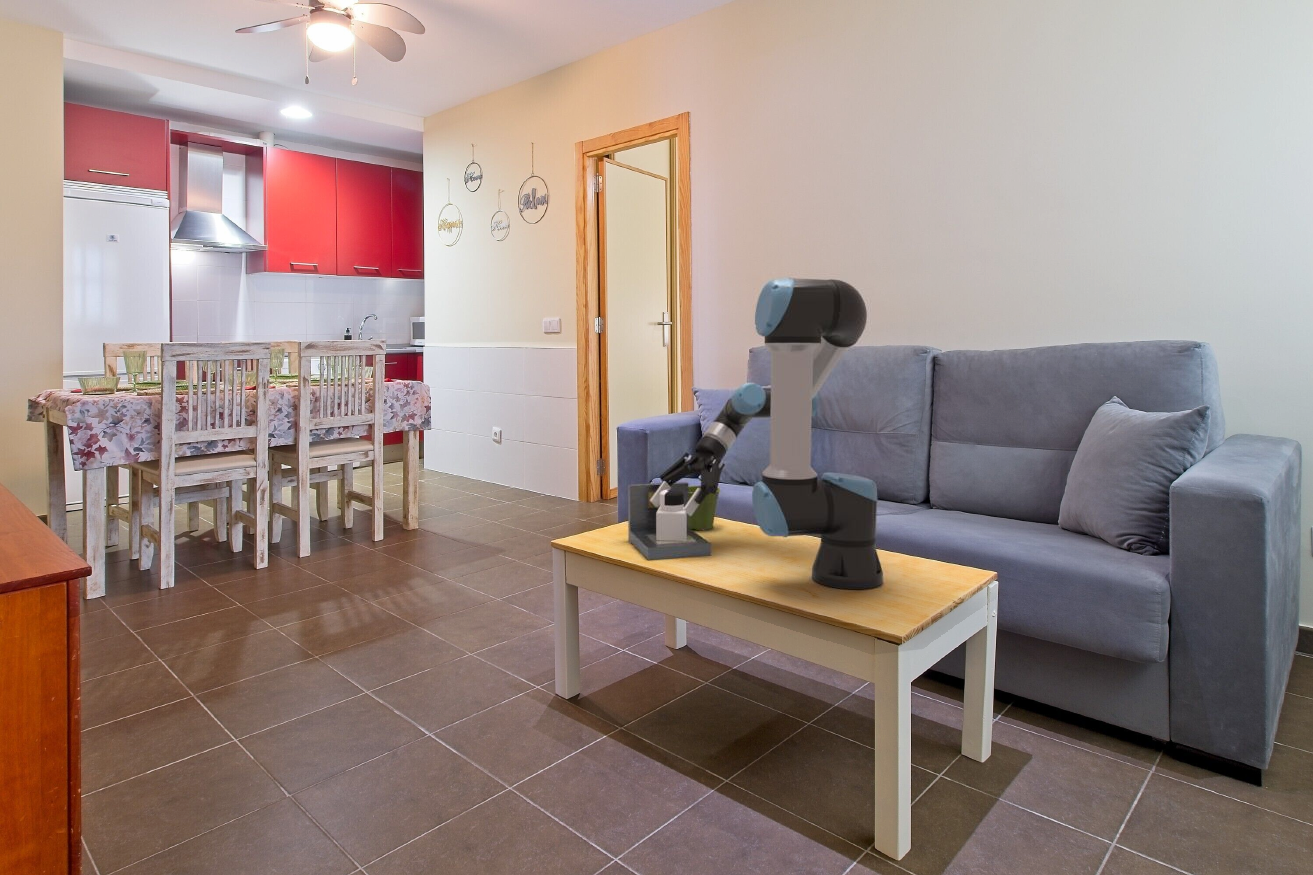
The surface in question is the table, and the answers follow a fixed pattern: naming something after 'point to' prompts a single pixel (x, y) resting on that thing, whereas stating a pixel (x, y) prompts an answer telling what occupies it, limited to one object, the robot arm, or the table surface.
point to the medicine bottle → (671, 516)
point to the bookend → (645, 526)
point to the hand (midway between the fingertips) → (669, 508)
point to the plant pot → (703, 510)
